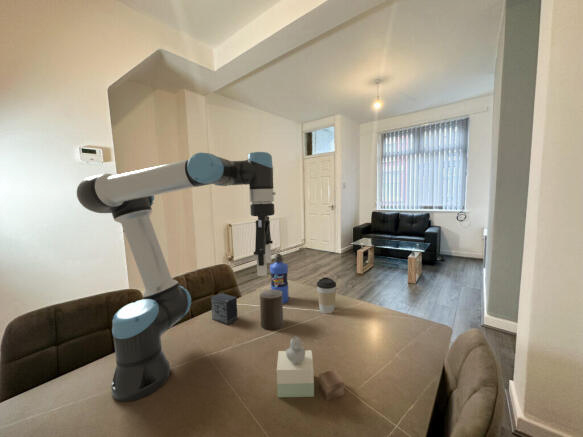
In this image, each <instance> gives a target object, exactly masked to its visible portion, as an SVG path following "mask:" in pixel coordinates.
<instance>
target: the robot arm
mask: <svg viewBox="0 0 583 437" xmlns="http://www.w3.org/2000/svg"><path fill="white" fill-rule="evenodd" d="M208 185H214V186H221V187H227V186H242V185H248V186H249V202H250V203H251V204H250V205H249V206H250V208H249V209H250V215H251V216H252V217H257V220H255V223H254V224H255V248H254V249H255V250H254V251H253V256H256V271H257V273H256V274H257V275H256V276H257V277H267V276H268V272H267V270H268V269H267V267H268V266H267V264H272V249H271V248H272V246H271V245H272V244H273V243H274V242H273V240H272V236H271V226H270V225H271V221H270V217H269V216H274V215H275V204H274V203H273V202H274V200H275V195H277V194H276V191H274V166H273V157H272V155H271V153H269V152H267V151H265V152H264V151H254V152H250V153H248V155H247V159H244V160H229V159H226V158H223V157H221V156H217V155H215V154H213V153H209V152H197V153H194V154H193V155H192V156H191V157H190V158H189V159H183V160H180V161H175V162H170V163H166V164H161V165H157V166H152V167H147V168H142V169H139V170H133V171H130V172H124V173H121V174H120V173H119V174H116V175H114V174H112V173H103V174H102V173H101V174H98V175H92V176H88V177H86V178H84V179H83V180H81V182H80V183H79V184H78V185H77V188H76V198H77V200H78V202H79V204H80V205H81V206H82V207H83V208H84V209H86V210H88V211H90V212H93V213H97V214H111V215H112V218H113V220H114V222H117V223H119V224H120V225H121V227H122V229H123V231H124V234H125V237H126V240H127V242H128V245H129V249H130V251H131V254H132V256H133V259H134V262H135V264H136V267H137V269H138V272H139V275H140V278H141V281H142V283H143V286H144V289H145V290H144V291H143V294H142V299H140V300H139V299H138V300H136V301H135V302H131V303H127V304H126V305H124V306H123V307H121V308H120V309H118V311H117V312H115V314H114V315H113V318H112V329H111V333H112V338H113V345H114V352H115V353H114V354H115V362H116V366H115V370H114V374H113V377H112V381H111V385H110V388H111V395H112V397H113V398H114V400H117V401H120V402H131V401H132V402H133V401H136V400H138V399H142V398H144V397H147V396H149V395H150V394H152V393H154V392H155V391H156V390H158V389H160V388H161V387H162V386H163V385H165V382H166V381H167V380H168V379H169V377H170V374H171V368H170V366H171V365H170V361H169V360H168V359H167V357H166V355H165V353H164V350H163V349H162V348H163V347H162V335H164V334H165V333H166V332H167V331H169V329H171V328H172V327H173V326H174V325H175V324H176V323H178V322H179V321H181V320H182V319H183V318H184V317H185V315H187V313H188V312H189V311H190V309H191V305H192V297H191V294H190V292H189V290H188V289H187V288H185V287H184V286H182V285H180V284H179V281H178V280H175V279H173V278H172V276H171V273H170V270H169V267H168V264H167V262H166V260H165V256H164V252H163V251H162V248H161V245H160V242H159V239H158V237H157V234H156V232H155V228H154V226H153V222H152V221H151V217H150V216H151V215H152V212H153V210H152V206H153V205H154V201H155V196H157V195H162V194H167V193H171V192H172V193H173V192H176V191H177V192H178V191H181V190H182V191H183V190H187V189H191V188H192V189H193V188H198V187H202V186H208ZM166 383H167V382H166Z"/></svg>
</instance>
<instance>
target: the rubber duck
mask: <svg viewBox="0 0 583 437" xmlns="http://www.w3.org/2000/svg"><path fill="white" fill-rule="evenodd" d="M285 351H286V356H287V358H288V360H289V361H291V362H292V363H294V364H297V363H300V362H302V361H303V359H304V357H305V347H304V346H302V340H301V339H300V337H299V336H297V335H295V336H294V337H292V338H291V339H290V341H289V348H287V349H286V350H285Z"/></svg>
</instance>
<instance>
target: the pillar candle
mask: <svg viewBox="0 0 583 437" xmlns="http://www.w3.org/2000/svg"><path fill="white" fill-rule="evenodd" d="M259 301H260V303H259V306H260V315H259V316H260V326H261V328H263V329H264V330H269V331H274V330H278V329H280V328H282V327H283V326H284V304H283V296H282V292H281V291H279V290H271V289H265V290H263V291H261V292H260V293H259Z"/></svg>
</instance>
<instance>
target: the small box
mask: <svg viewBox="0 0 583 437" xmlns="http://www.w3.org/2000/svg"><path fill="white" fill-rule="evenodd" d="M237 299H238V298H237V296H235V295H234V296H232V295H229V294H226V293H223V292H222V293H218V294H216V295H213V296H211V297H210V302H211V303H210V304H211V319H212V320H213V321H216V322H218V323H220V324H224V325H225V326H229V325H230V324H232V323H234V322H235V321H237V320H238V319H239V318H238V300H237Z"/></svg>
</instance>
